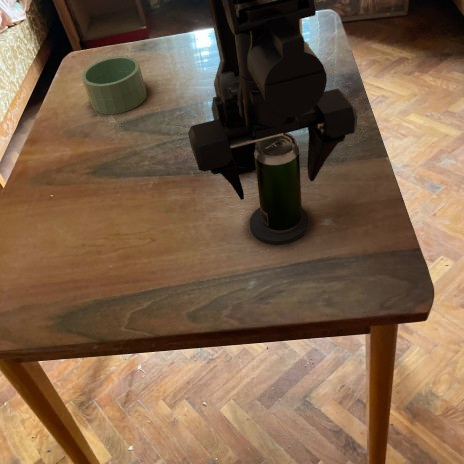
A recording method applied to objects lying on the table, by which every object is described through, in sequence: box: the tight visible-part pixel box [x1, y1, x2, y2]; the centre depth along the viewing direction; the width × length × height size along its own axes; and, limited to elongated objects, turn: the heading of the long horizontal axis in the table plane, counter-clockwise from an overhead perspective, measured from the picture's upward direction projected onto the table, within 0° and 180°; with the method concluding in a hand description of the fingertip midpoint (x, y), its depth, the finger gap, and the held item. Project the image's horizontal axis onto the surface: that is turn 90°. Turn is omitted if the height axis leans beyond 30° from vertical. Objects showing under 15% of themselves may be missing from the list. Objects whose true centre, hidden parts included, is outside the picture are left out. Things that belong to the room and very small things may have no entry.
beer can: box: [254, 132, 302, 233], centre depth 65 cm, size 5×5×12 cm
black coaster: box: [249, 206, 310, 246], centre depth 71 cm, size 8×8×1 cm
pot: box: [81, 55, 148, 115], centre depth 96 cm, size 11×11×6 cm
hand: (276, 188), depth 66 cm, fingers open, 9 cm apart
